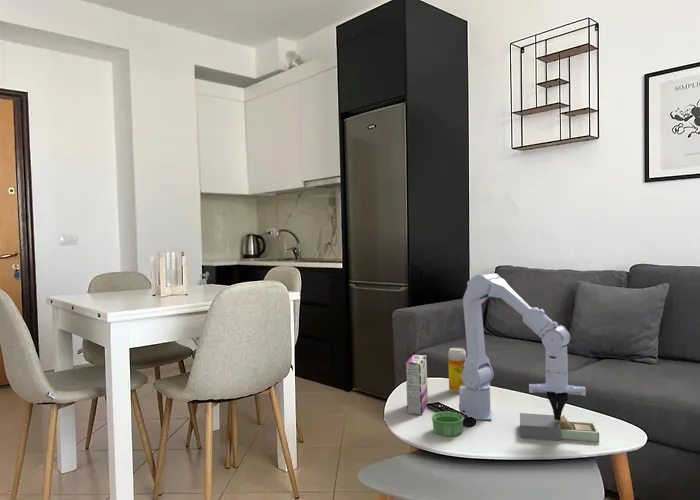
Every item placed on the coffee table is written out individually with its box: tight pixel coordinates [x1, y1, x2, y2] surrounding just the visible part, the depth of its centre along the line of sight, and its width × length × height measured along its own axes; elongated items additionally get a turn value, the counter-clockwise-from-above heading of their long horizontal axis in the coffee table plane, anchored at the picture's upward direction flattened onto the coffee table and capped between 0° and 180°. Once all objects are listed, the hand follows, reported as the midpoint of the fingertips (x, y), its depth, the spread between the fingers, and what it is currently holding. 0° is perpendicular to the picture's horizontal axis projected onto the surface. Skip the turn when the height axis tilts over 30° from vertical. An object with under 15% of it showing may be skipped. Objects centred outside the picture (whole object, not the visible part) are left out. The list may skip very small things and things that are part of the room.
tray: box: [559, 420, 600, 443], centre depth 145 cm, size 10×8×2 cm
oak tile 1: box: [558, 415, 574, 430], centre depth 146 cm, size 4×4×2 cm
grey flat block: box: [519, 412, 562, 441], centre depth 148 cm, size 10×10×4 cm
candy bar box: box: [405, 354, 429, 416], centre depth 170 cm, size 11×5×16 cm, turn 162°
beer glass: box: [447, 347, 467, 394], centre depth 188 cm, size 6×6×15 cm
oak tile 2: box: [574, 424, 592, 432], centre depth 145 cm, size 4×4×2 cm
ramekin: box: [431, 411, 465, 438], centre depth 150 cm, size 9×9×4 cm
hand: (557, 419), depth 147 cm, fingers closed
